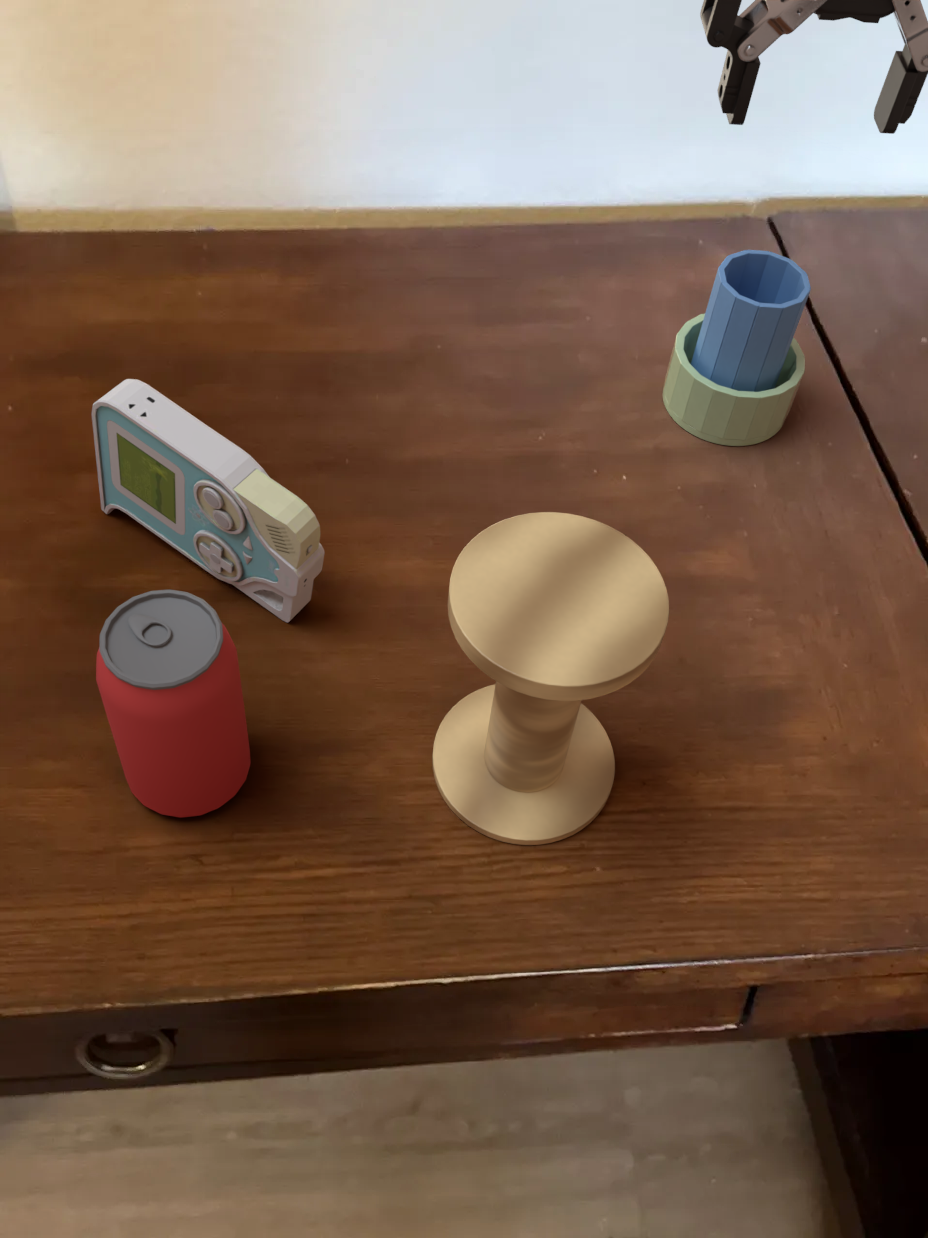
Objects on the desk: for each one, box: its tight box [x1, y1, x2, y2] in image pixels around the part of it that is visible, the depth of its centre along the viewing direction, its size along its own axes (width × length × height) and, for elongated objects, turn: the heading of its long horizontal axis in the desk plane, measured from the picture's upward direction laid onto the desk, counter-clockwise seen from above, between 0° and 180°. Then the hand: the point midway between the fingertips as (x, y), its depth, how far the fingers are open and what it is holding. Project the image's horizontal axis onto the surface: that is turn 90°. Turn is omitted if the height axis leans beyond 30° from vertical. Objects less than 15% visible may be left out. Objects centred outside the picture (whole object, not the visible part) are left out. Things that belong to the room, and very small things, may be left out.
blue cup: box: [691, 249, 812, 392], centre depth 81 cm, size 6×6×10 cm
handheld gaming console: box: [91, 378, 325, 623], centre depth 70 cm, size 11×3×15 cm
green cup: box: [661, 312, 806, 447], centre depth 84 cm, size 9×9×4 cm
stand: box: [431, 511, 670, 846], centre depth 61 cm, size 10×10×15 cm
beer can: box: [95, 589, 252, 819], centre depth 60 cm, size 7×7×12 cm
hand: (808, 121), depth 67 cm, fingers open, 8 cm apart
